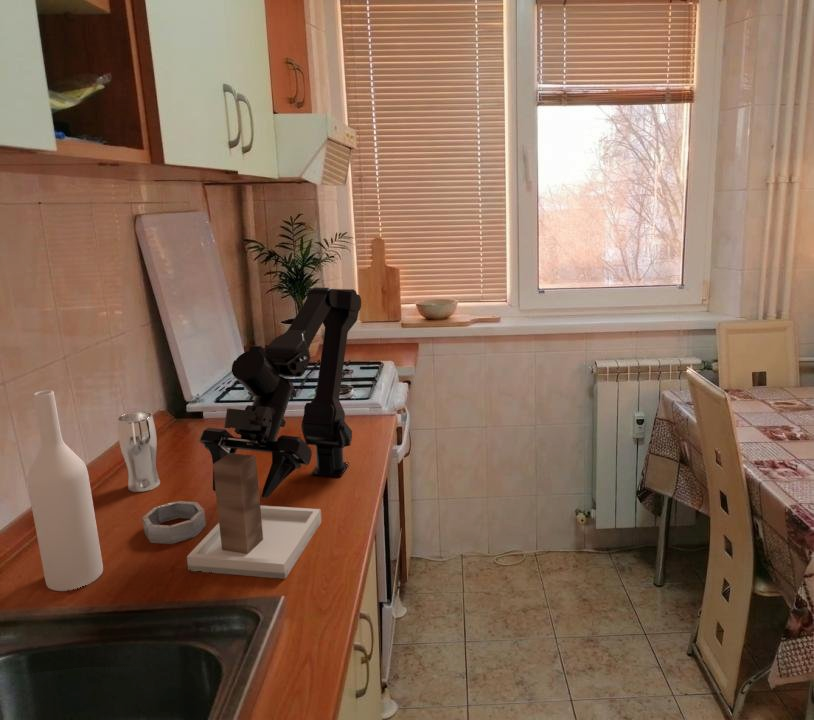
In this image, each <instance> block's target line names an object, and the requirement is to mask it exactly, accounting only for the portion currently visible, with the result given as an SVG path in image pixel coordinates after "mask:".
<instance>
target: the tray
mask: <svg viewBox="0 0 814 720" xmlns="http://www.w3.org/2000/svg"><path fill="white" fill-rule="evenodd" d="M260 509H261V520H262V531H263V540H262V541H261V542H260V543H259V544H258V545H257V546H256V547H255V548H254V549H253V550H252V551H251V552H250V553H248V554H244V553H238V552H232V551H226V550H222V545H221V535H220V526H219V522H218V523H216V525H215V526H214V527H213V528H212V529H211V530H210V531H209V532H208V534H207V535H205V537H204V538H202V540H201V541H200V542H199V543H198V544H197V545H196V546H195V547H194V548H193V549H192V551H190V552H189V553H188V555H187V556H186V561H187V569H188V571H189V570H191V571H190V572H197V571H202V572H201V573H209V572H210V574H212V573H213V574H222V575H235V576H244V577H245V576H247V577H259V578H270V579H282V580H286V578H287V577H288V575H289V574H290V573H291V570H292V569H293V567H294V566H295V564H296V563H297V561H298V560H299V558H300V557H301V555H302V553H303V552H304V551H305V548H306V547H307V546H308V544H309V543H310V541H311V539H312V538H313V536H314V535H315V533H316V532H317V530H318V528H319V527H320V525H321V523H322V511H321V510H322V509H320V508H305V507H291V506H290V507H289V506H275V505H261V504H260ZM211 572H212V573H211Z"/></svg>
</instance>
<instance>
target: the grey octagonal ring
mask: <svg viewBox="0 0 814 720" xmlns="http://www.w3.org/2000/svg"><path fill="white" fill-rule="evenodd" d="M177 519H187V520H185V521H182V522H179V523H175V524H171V525H166V524H165V525H164V524H163V523H166V522H170V521H172V520H173V521H174V520H177ZM188 519H189V520H188ZM142 525H143V533H144V535H145V536H146V538H147V539H148V542H149V543H153V544H166V545H174V544H176V543H181V542H183V541H186V540H190V539H193V538H196V536H198V535H199V533H201V532H202V530H203V529H204V528H205V527H206V526H207V522H206V513H205V509H204V508H203V507H202V506H201V505H200V503H199V502H198V501H186V500H185V501H182V500H176V501H172V502H168V503H164V504H162V505H157V506H155V507H154V508H152V509H151V510H149V511H148V512H147V513H146V514H145V515H144V516H142Z"/></svg>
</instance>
